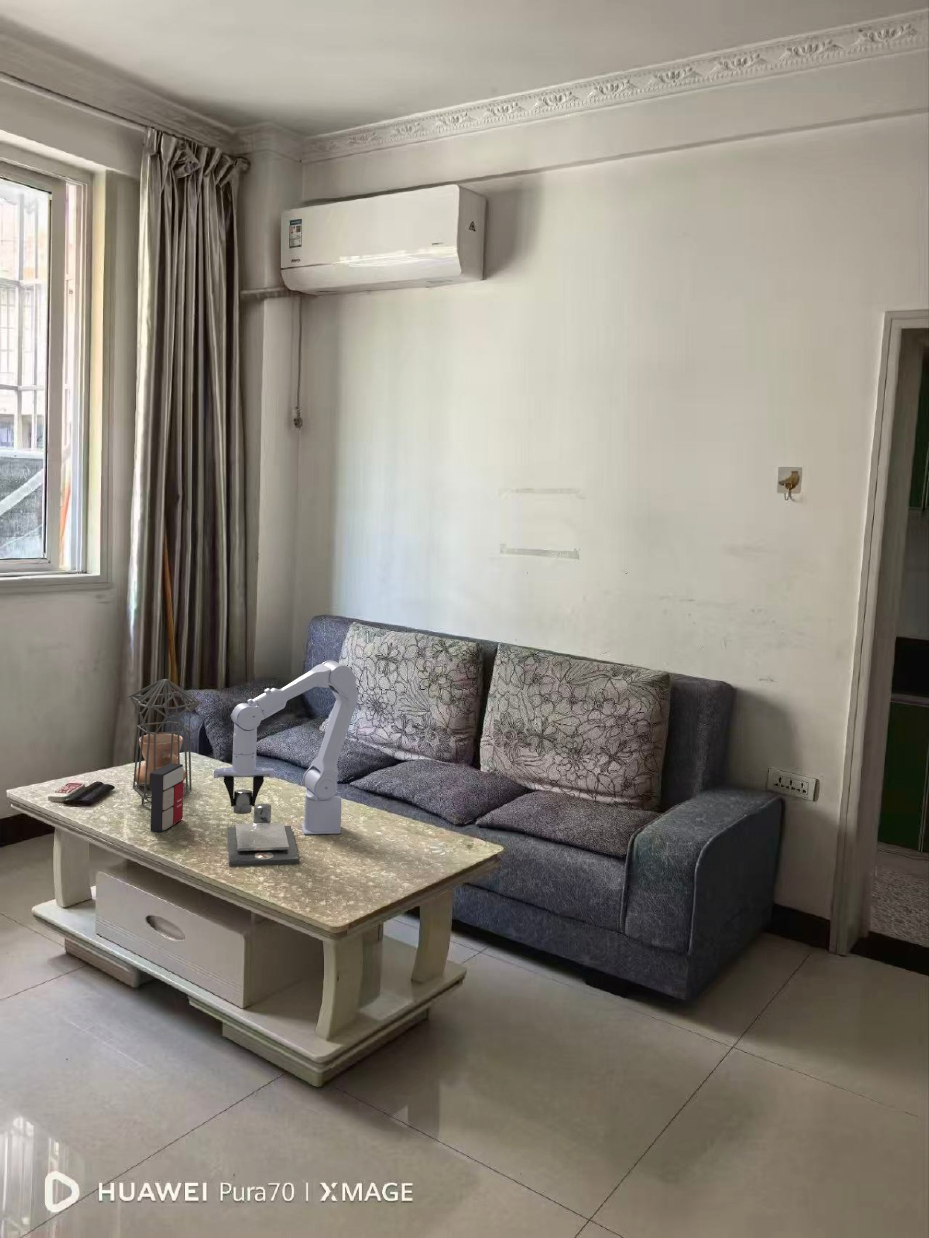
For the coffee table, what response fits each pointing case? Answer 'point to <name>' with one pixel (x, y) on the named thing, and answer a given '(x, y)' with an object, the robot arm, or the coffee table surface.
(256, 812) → the cylinder
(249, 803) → the cylinder
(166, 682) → the geometric lantern
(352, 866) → the coffee table surface
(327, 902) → the coffee table surface
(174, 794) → the grey and red box
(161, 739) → the ceramic jug
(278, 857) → the base
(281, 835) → the pan
